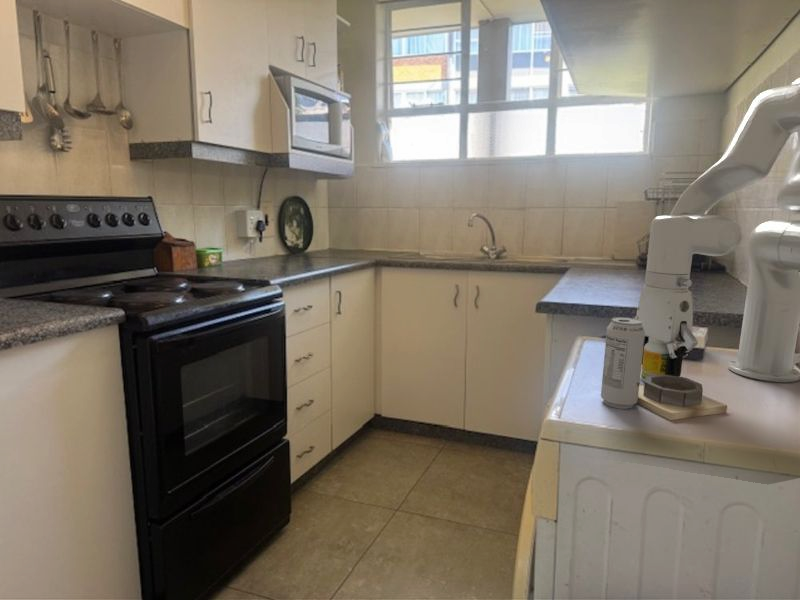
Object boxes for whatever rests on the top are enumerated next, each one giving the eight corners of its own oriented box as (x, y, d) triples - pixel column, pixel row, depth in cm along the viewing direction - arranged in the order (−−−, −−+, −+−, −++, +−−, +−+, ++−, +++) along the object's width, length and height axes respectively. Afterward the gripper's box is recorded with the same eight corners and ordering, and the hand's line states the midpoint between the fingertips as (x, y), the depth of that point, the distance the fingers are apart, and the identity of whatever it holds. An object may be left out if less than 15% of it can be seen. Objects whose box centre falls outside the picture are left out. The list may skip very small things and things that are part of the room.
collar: (671, 388, 103) (673, 369, 103) (726, 412, 92) (729, 391, 91) (619, 394, 100) (621, 375, 99) (670, 420, 88) (672, 398, 88)
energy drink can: (644, 409, 93) (653, 324, 90) (611, 410, 92) (620, 324, 89) (624, 396, 99) (633, 315, 96) (593, 397, 98) (601, 316, 95)
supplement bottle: (650, 375, 111) (655, 329, 109) (676, 383, 106) (681, 335, 104) (634, 379, 108) (639, 333, 106) (660, 388, 103) (666, 339, 102)
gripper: (721, 288, 96) (708, 383, 100) (648, 274, 112) (639, 356, 116) (688, 289, 94) (676, 387, 97) (618, 275, 110) (610, 359, 114)
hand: (656, 369), depth 107 cm, fingers open, 7 cm apart
